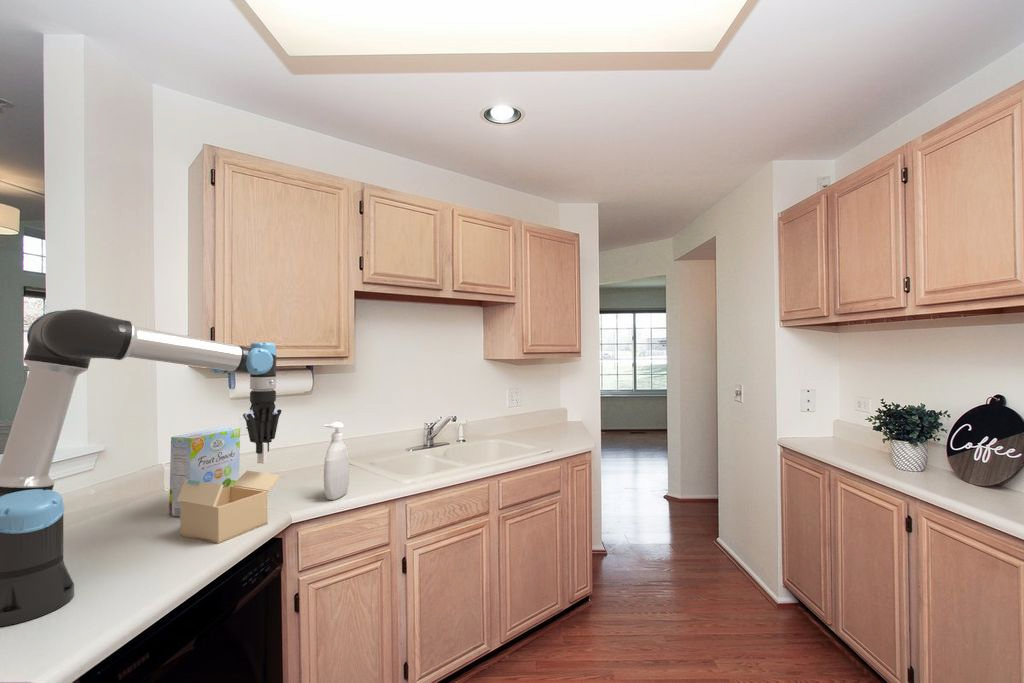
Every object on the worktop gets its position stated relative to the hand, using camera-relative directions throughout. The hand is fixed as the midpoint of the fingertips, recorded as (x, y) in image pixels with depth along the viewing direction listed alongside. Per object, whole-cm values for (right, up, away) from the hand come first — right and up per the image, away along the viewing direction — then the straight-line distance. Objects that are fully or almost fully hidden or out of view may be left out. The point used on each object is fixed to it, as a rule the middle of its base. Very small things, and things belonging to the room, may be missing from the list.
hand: (262, 462), depth 158 cm
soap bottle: (+17, -17, +19) cm, 30 cm away
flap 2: (-1, -5, -2) cm, 5 cm away
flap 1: (-8, -4, -19) cm, 21 cm away
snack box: (-23, -17, +8) cm, 30 cm away
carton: (-5, -17, -12) cm, 21 cm away
